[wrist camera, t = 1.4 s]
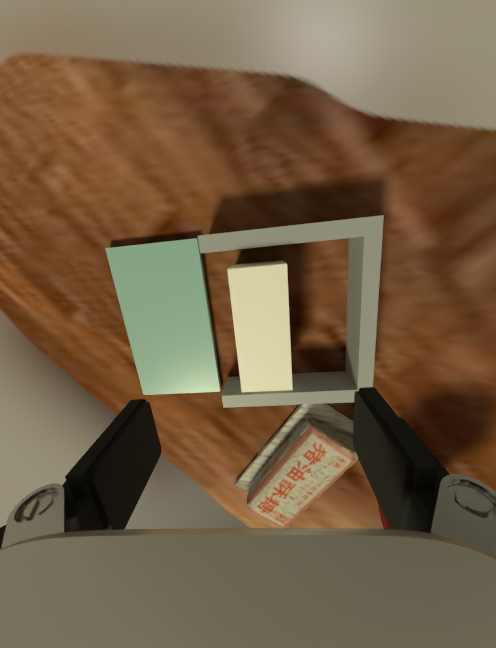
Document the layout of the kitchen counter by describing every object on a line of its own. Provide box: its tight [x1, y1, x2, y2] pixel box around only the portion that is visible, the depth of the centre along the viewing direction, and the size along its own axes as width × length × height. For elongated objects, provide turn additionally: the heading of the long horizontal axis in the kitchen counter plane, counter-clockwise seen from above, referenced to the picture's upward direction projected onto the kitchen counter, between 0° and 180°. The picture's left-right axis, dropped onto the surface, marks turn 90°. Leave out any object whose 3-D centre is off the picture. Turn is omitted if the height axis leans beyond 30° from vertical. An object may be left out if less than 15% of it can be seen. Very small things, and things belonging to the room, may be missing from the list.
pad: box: [105, 238, 221, 395], centre depth 28 cm, size 10×18×1 cm, turn 6°
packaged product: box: [235, 403, 358, 528], centre depth 31 cm, size 18×5×10 cm
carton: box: [227, 260, 293, 392], centre depth 25 cm, size 5×12×6 cm, turn 5°
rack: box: [198, 215, 384, 407], centre depth 25 cm, size 16×18×4 cm
